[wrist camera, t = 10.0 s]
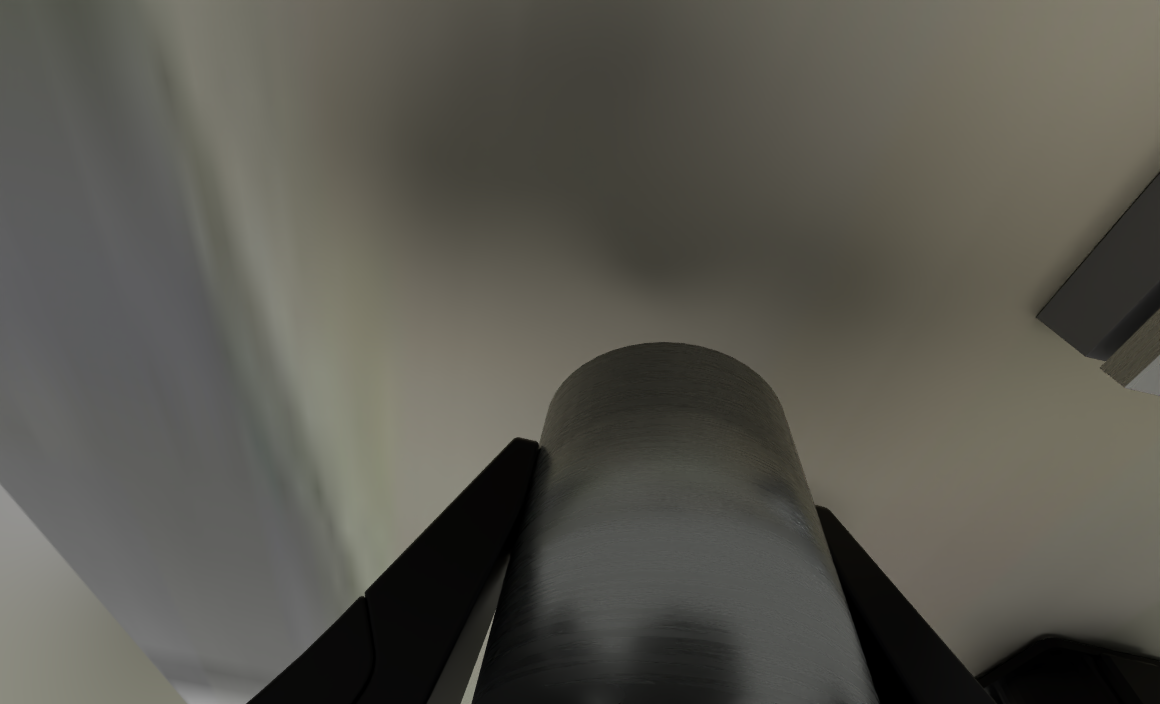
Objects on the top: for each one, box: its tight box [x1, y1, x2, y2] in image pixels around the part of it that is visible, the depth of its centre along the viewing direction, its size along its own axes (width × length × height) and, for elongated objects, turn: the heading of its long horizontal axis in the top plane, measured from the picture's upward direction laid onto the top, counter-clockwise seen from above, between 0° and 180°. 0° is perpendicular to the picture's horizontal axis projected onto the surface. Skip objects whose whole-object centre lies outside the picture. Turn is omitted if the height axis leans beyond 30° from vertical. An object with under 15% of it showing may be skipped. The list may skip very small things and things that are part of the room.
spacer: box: [472, 342, 880, 704], centre depth 7 cm, size 4×4×5 cm
